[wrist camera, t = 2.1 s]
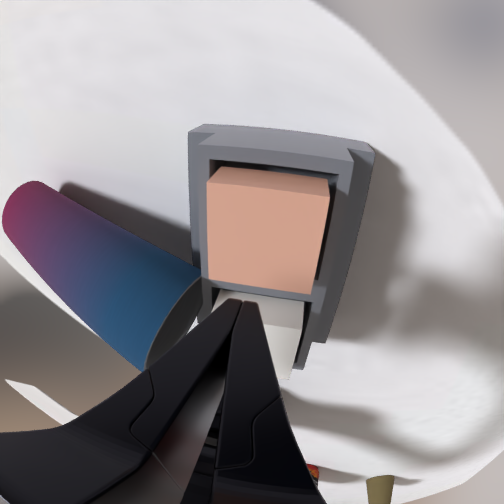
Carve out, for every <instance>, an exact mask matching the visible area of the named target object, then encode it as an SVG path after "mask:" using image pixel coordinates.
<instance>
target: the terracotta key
mask: <svg viewBox="0 0 504 504" xmlns="http://www.w3.org/2000/svg"><path fill="white" fill-rule="evenodd" d="M329 200H330V194H329V187H328V181H327V179H324V178H317V177H310V176H303V175H296V174H288V173H280V172H272V171H263V170H254V169H244V168H233V167H222V166H221V167H220V168H219V169H218V170H217V172H216V173H215V174H214V175H213V176H212V177H211V178H210V179H209V180H208V181H207V241H208V273H209V279H212V280H218V281H224V282H230V283H236V284H242V285H249V286H255V287H262V288H268V289H275V290H282V291H289V292H296V293H303V294H310V295H311V290H312V286H313V281H314V277H315V272H316V267H317V263H318V258H319V253H320V248H321V243H322V238H323V233H324V228H325V222H326V217H327V212H328V206H329Z"/></svg>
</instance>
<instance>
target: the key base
mask: <svg viewBox="0 0 504 504" xmlns="http://www.w3.org/2000/svg"><path fill="white" fill-rule="evenodd" d="M374 158H375V152H374V151H373V150H372V149H371V147H370V146H369V145H368V144H367V143H366V142H362V141H356V140H351V139H345V138H339V137H333V136H327V135H320V134H313V133H306V132H298V131H290V130H281V129H272V128H261V127H249V126H235V125H216V124H203V125H201V126H199V127H197V128H195V129H193V130H191V131H189V132H188V171H189V202H190V225H191V243H192V259H193V266H195V267H197V268H199V269H201V277H202V294H203V304H202V307H201V309H200V311H199V313H198V315H197V320H198V323H200V322H201V321H203V320H204V319H205V318H206V317H207V316H208V315H209V314H211V312H212V310H213V307H214V305H215V302H216V300H217V297H218V295H219V292H220V290H221V289H224V290H230V291H236V292H243V293H249V294H255V295H262V296H268V297H275V298H282V299H289V300H296V301H303V302H304V312H303V325H302V332H301V336H300V340H299V344H298V348H297V352H296V356H295V359H294V363H293V367H292V369H300V370H303V369H304V366H305V362H306V359H307V356H308V353H309V349H310V346H311V343H312V342H318V343H326V340H327V337H328V334H329V331H330V328H331V325H332V322H333V319H334V316H335V312H336V309H337V306H338V303H339V300H340V296H341V293H342V290H343V286H344V283H345V280H346V276H347V273H348V269H349V266H350V262H351V258H352V255H353V251H354V247H355V243H356V239H357V235H358V232H359V227H360V223H361V219H362V215H363V211H364V206H365V202H366V197H367V193H368V188H369V184H370V179H371V174H372V169H373V164H374ZM221 166H222V167H233V168H244V169H254V170H263V171H272V172H280V173H288V174H296V175H303V176H310V177H317V178H324V179H327V181H328V187H329V194H330V200H329V206H328V212H327V217H326V222H325V228H324V233H323V238H322V243H321V248H320V253H319V258H318V263H317V267H316V272H315V277H314V281H313V286H312V290H311V295H310V294H303V293H296V292H289V291H282V290H275V289H268V288H262V287H255V286H249V285H242V284H236V283H230V282H224V281H218V280H212V279H209V273H208V241H207V181H208V180H209V179H210V178H211V177H212V176H213V175H214V174H215V173H216V172H217V170H218V169H219V168H220V167H221Z"/></svg>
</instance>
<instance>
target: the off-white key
mask: <svg viewBox="0 0 504 504" xmlns="http://www.w3.org/2000/svg"><path fill="white" fill-rule="evenodd" d="M228 298H234V299H240V300H242V301H245V300H247V301H253V302H257V303H258V305H259V309H260V313H261V317H262V321H263V325H264V329H265V333H266V337H267V341H268V345H269V349H270V352H271V356H272V360H273V364H274V368H275V372H276V376H277V378H278V379H285V380H289V378H290V374H291V370H292V367H293V363H294V359H295V356H296V352H297V348H298V344H299V340H300V336H301V332H302V325H303V312H304V302H303V301H296V300H289V299H282V298H275V297H268V296H262V295H255V294H249V293H243V292H236V291H230V290H224V289H221V290H220V292H219V295H218V297H217V300H216V302H215V305H214V307H213V310H212V312H213V311H214V310H215V309H216V308H217V307H219V306H220V305H221V304H222V303H223V302H224V301H225V300H227V299H228ZM212 312H211V313H212Z"/></svg>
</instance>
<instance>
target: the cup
mask: <svg viewBox="0 0 504 504" xmlns="http://www.w3.org/2000/svg"><path fill="white" fill-rule="evenodd" d="M2 225H3V229H4V232H5V234H6V235H7V236H8V238H9V239H10V240H11V242H12V243H13V244H14V245H15V247H16V248H17V249H18V250H19V252H20V253H21V254H22V255H23V257H24V258H25V259H26V260H27V261H28V263H29V264H30V265H31V266H32V267H33V269H34V270H35V271H36V272H37V273H38V274H39V275H40V277H41V278H42V279H43V280H44V281H45V282H46V283H47V284H48V286H49V287H50V288H51V289H52V290H53V291H54V292H55V293H56V294H57V295H58V296H59V297H60V298H61V299H62V300H63V301H64V302H65V304H66V305H67V306H68V307H69V308H70V309H71V310H72V311H73V312H74V313H75V314H76V315H77V316H78V317H80V318H81V319H82V320H83V321H84V322H85V323H86V324H87V325H88V326H89V327H90V328H91V329H92V330H93V331H94V332H95V333H96V334H98V335H99V336H100V337H101V338H102V339H103V340H104V341H105V342H106V343H108V344H109V345H110V346H111V347H112V348H113V349H115V350H116V351H117V352H118V353H119V354H120V355H121V356H123V357H124V358H125V359H126V360H127V361H129V362H130V363H131V364H132V365H134V366H135V367H136V368H138V369H139V370H140V371H141V372H143V371H144V370H145V369H149V366H150V365H151V364H153V363H154V362H155V361H156V360H157V359H158V358H160V357H161V356H162V355H163V354H164V353H165V352H167V351H168V350H169V349H170V348H171V347H172V346H174V345H175V344H176V343H177V342H178V341H179V340H181V339H182V338H183V337H184V336H185V335H186V334H187V332H188V331H189V329H190V327H191V325H192V324H193V322H194V320H195V318H196V317H197V315H198V313H199V311H200V309H201V307H202V304H203V294H202V277H201V269H199V268H197V267H195V266H193V265H191V264H189V263H187V262H185V261H183V260H181V259H179V258H177V257H176V256H174V255H172V254H170V253H168V252H166V251H164V250H162V249H160V248H158V247H157V246H155V245H153V244H151V243H149V242H147V241H145V240H143V239H142V238H140V237H138V236H136V235H134V234H132V233H130V232H129V231H127V230H125V229H123V228H121V227H119V226H118V225H116V224H114V223H112V222H110V221H108V220H107V219H105V218H103V217H101V216H99V215H98V214H96V213H94V212H92V211H91V210H89V209H87V208H85V207H83V206H82V205H80V204H78V203H76V202H75V201H73V200H71V199H69V198H68V197H66V196H64V195H63V194H61V193H59V192H57V191H56V190H54V189H52V188H51V187H49V186H47V185H45V184H44V183H42V182H39V181H30V182H27V183H25V184H23V185H21V186H20V187H18V188H17V189H16V190H15V191H14V192H13V193H12V194H11V196H10V197H9V199H8V201H7V202H6V205H5V207H4V210H3V215H2Z"/></svg>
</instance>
